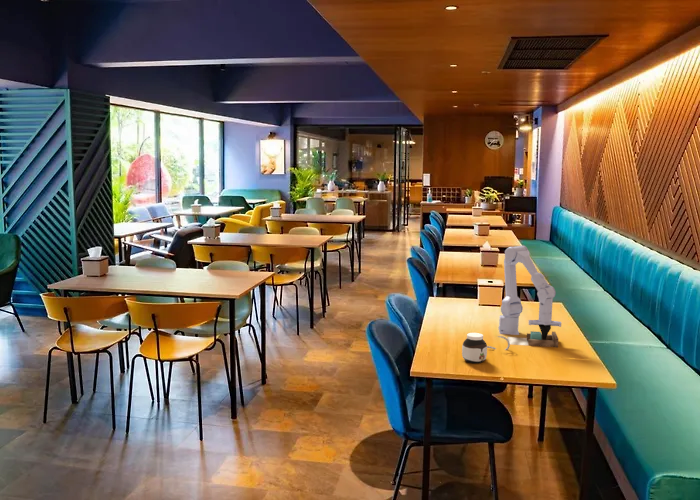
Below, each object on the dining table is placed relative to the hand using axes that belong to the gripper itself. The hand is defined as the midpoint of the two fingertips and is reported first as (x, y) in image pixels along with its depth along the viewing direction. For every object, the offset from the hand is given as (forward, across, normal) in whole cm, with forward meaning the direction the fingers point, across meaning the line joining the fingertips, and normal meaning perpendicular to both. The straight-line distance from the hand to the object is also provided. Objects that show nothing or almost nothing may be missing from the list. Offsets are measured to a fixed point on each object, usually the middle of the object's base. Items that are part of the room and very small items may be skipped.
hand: (543, 340), depth 292 cm
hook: (+2, -26, -14) cm, 30 cm away
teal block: (+1, -4, 0) cm, 4 cm away
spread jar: (+2, -32, -30) cm, 44 cm away
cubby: (+2, -5, 0) cm, 6 cm away
